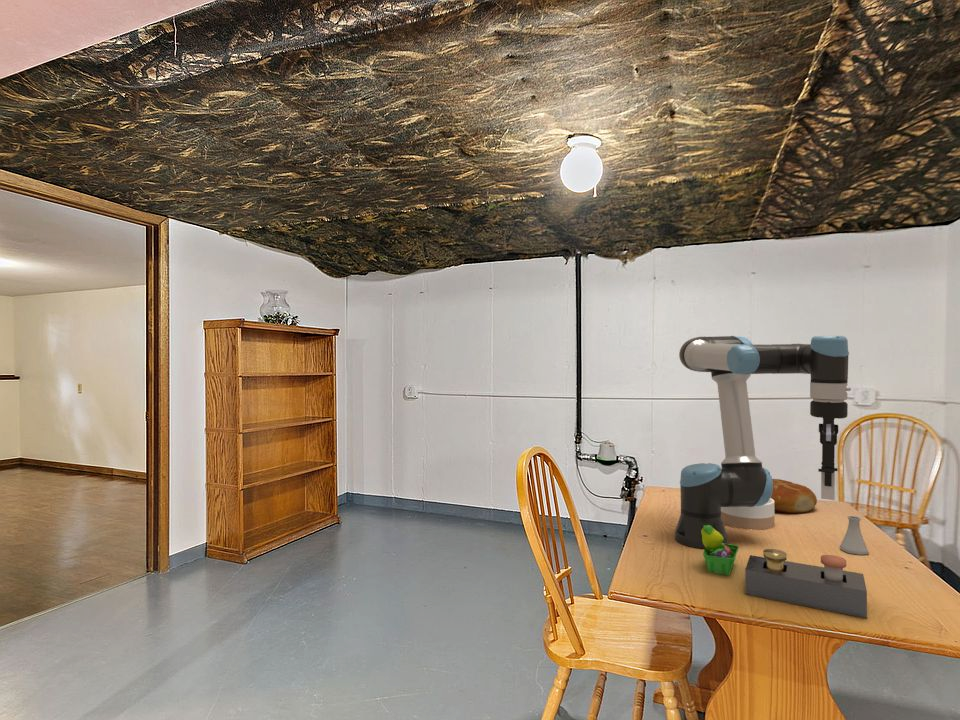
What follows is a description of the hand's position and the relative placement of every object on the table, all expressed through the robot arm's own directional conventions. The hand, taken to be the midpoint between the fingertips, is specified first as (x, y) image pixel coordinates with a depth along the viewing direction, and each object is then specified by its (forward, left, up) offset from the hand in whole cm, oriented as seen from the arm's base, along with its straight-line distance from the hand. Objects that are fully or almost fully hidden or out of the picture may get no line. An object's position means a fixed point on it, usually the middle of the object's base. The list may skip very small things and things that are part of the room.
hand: (827, 498), depth 131 cm
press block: (-5, -4, -23) cm, 24 cm away
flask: (+7, +38, -24) cm, 45 cm away
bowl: (-23, +53, -24) cm, 62 cm away
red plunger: (+1, -4, -21) cm, 21 cm away
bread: (-14, +79, -24) cm, 84 cm away
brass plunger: (-11, -4, -21) cm, 24 cm away
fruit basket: (-25, +5, -24) cm, 35 cm away
